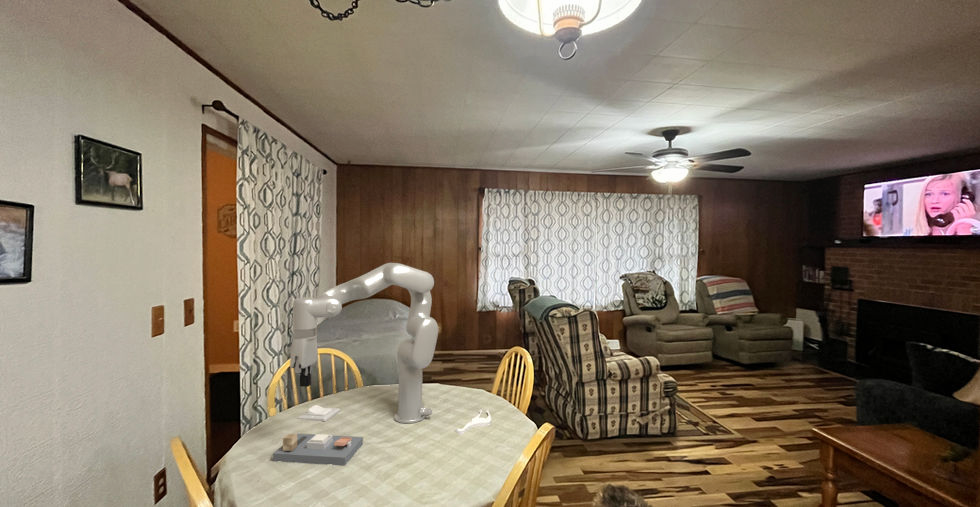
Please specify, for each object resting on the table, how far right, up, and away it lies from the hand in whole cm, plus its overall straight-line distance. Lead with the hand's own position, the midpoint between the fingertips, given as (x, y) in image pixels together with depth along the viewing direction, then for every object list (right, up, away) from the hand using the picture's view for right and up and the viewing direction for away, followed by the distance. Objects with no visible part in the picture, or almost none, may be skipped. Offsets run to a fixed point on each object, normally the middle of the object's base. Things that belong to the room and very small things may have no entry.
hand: (305, 385), depth 137 cm
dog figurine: (+58, -22, +20) cm, 65 cm away
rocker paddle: (+15, -18, -5) cm, 24 cm away
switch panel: (+7, -21, -5) cm, 22 cm away
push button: (+7, -18, -5) cm, 20 cm away
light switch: (-6, -21, +26) cm, 34 cm away
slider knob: (-1, -18, -8) cm, 20 cm away
